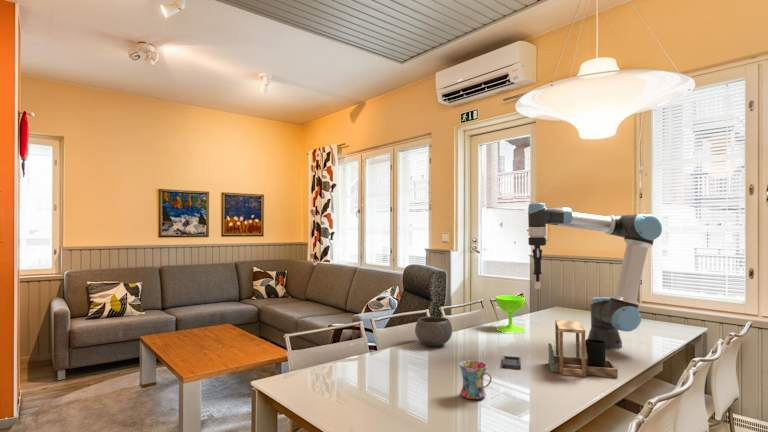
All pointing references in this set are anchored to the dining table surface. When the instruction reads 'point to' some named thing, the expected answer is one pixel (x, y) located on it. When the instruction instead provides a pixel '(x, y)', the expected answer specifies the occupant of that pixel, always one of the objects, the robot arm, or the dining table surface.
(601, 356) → the cup
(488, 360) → the dining table surface
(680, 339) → the dining table surface
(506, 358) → the tray
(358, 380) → the dining table surface
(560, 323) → the brown wooden frame
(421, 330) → the bowl
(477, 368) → the mug
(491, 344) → the dining table surface
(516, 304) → the wineglass
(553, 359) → the sled
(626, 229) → the robot arm
